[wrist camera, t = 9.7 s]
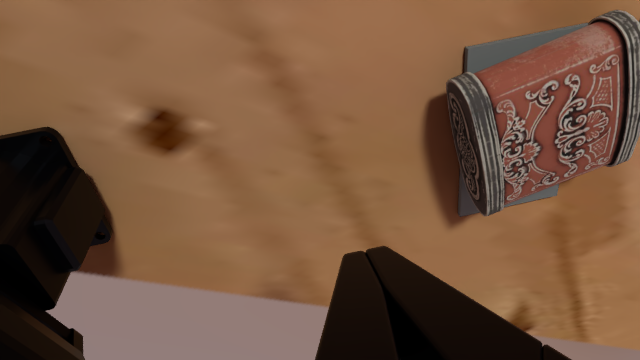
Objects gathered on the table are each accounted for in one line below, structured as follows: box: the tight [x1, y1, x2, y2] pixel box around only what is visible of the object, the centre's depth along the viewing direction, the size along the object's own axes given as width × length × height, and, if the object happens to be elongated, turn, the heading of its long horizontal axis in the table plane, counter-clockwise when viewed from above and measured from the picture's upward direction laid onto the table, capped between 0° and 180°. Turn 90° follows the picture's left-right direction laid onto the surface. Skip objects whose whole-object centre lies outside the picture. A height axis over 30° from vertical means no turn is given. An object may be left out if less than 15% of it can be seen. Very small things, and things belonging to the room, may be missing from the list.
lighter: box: [446, 10, 640, 216], centre depth 20 cm, size 8×3×10 cm
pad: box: [458, 23, 588, 217], centre depth 23 cm, size 6×10×1 cm, turn 9°
